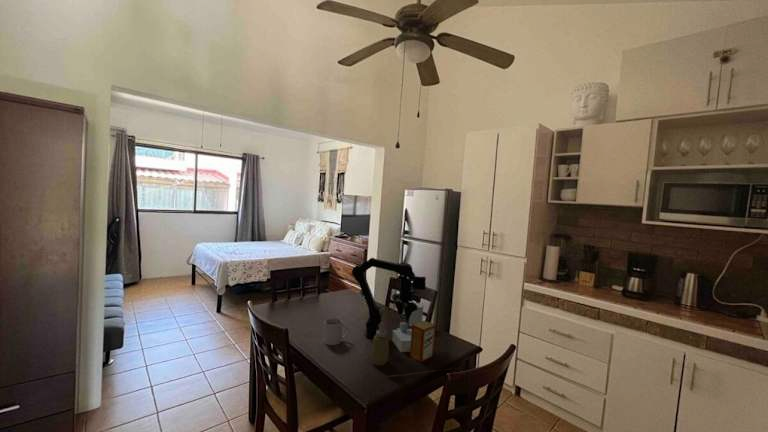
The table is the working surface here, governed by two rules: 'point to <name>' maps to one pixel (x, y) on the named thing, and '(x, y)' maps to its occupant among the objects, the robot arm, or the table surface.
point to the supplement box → (416, 315)
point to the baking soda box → (422, 341)
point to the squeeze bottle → (380, 347)
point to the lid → (403, 333)
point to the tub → (401, 344)
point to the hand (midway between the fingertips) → (403, 317)
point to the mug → (333, 331)
